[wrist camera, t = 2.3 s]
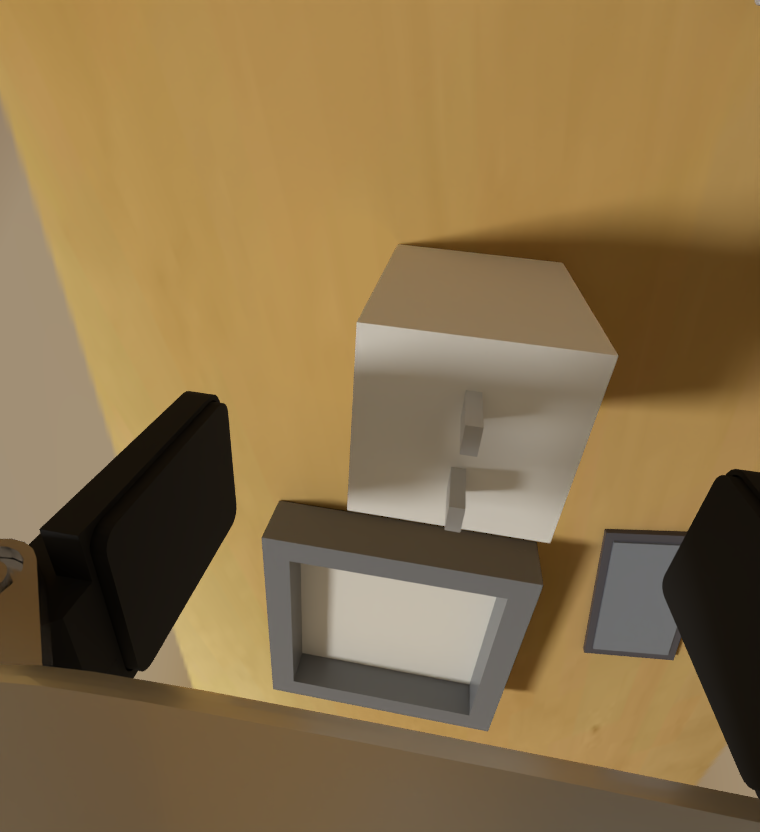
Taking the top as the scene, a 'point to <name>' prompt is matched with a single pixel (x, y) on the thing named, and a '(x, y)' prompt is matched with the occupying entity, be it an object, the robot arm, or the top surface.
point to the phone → (633, 596)
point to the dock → (395, 612)
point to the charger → (474, 392)
